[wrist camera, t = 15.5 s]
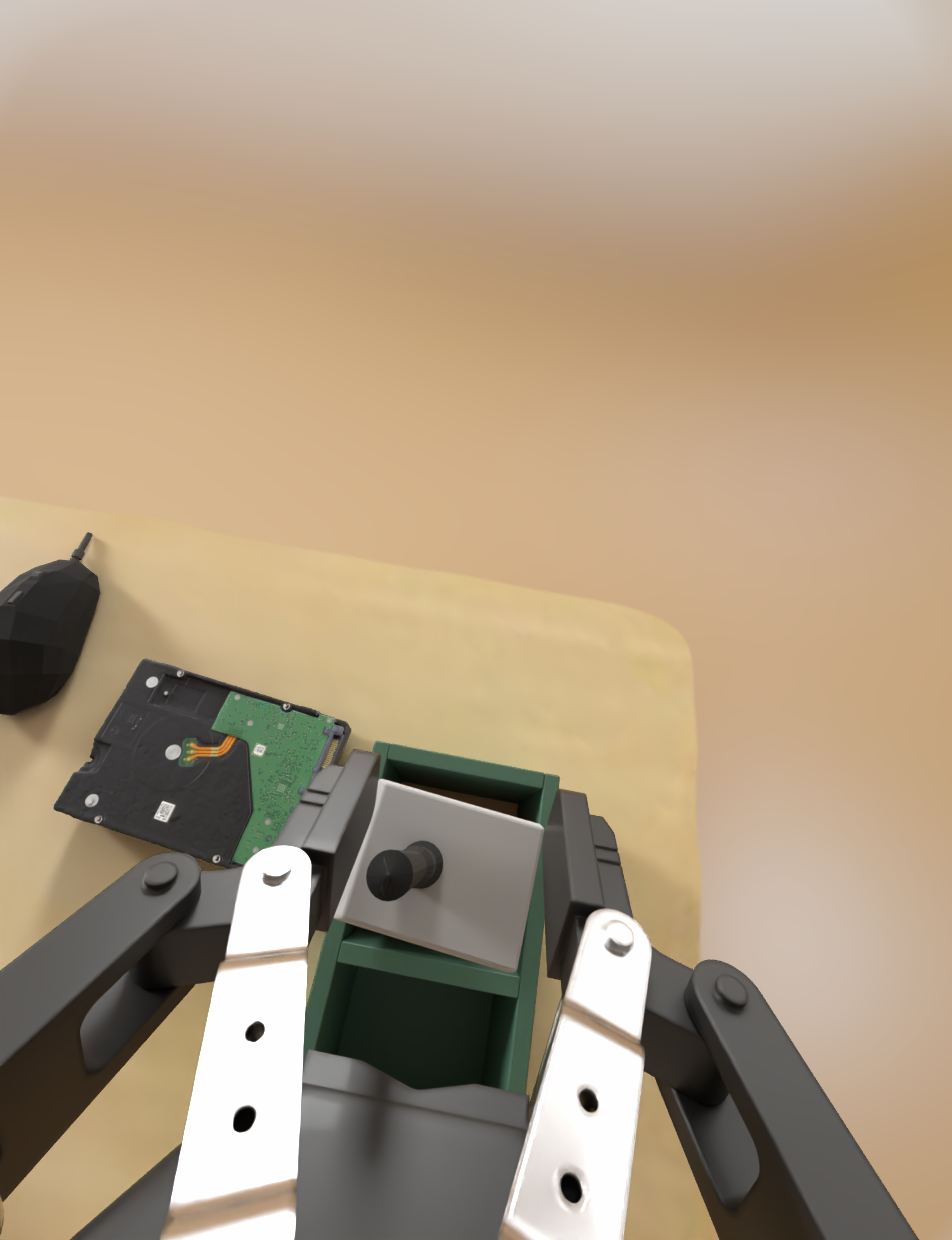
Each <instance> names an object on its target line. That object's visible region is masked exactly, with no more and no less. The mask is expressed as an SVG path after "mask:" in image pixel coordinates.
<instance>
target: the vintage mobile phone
mask: <svg viewBox="0 0 952 1240" xmlns="http://www.w3.org/2000/svg"><path fill="white" fill-rule="evenodd" d="M543 834H544V828H543V827H542V826H541V825H540V824H538V823H534V822H531V821H527V820H524V819H520V818H517V817H513V816H510V815H506V814H503V813H499V812H496V811H492V810H489V809H485V808H482V807H479V806H475V805H472V804H468V803H465V802H461V801H458V800H454V799H451V798H447V797H444V796H440V795H437V794H433V793H430V792H426V791H423V790H419V789H416V788H412V787H409V786H405V785H402V784H398V783H395V782H392V781H388V780H385V779H380V780H379V781H378V788H377V796H376V803H375V808H374V812H373V816H372V819H371V822H370V825H369V828H368V830H367V833H366V835H365V838H364V841H363V843H362V846H361V848H360V851H359V853H358V856H357V859H356V861H355V864H354V866H353V869H352V871H351V874H350V877H349V879H348V882H347V884H346V887H345V889H344V892H343V895H342V897H341V900H340V902H339V905H338V907H337V910H336V912H335V915H334V919H336V920H339V921H342V922H345V923H349V924H352V925H355V926H358V927H362V928H365V929H368V930H371V931H375V932H378V933H381V934H384V935H387V936H391V937H394V938H397V939H400V940H404V941H407V942H410V943H413V944H417V945H420V946H423V947H426V948H430V949H433V950H436V951H439V952H443V953H446V954H449V955H452V956H456V957H459V958H462V959H465V960H469V961H472V962H475V963H478V964H481V965H485V966H488V967H491V968H494V969H498V970H501V971H504V972H507V973H513V972H516V970H517V967H518V962H519V957H520V952H521V946H522V941H523V936H524V931H525V926H526V921H527V916H528V911H529V905H530V900H531V895H532V890H533V885H534V880H535V875H536V870H537V864H538V859H539V854H540V849H541V844H542V839H543Z"/></svg>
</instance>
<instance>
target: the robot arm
mask: <svg viewBox="0 0 952 1240" xmlns="http://www.w3.org/2000/svg"><path fill="white" fill-rule="evenodd" d="M380 762H381V754H378V753H373V752H368V751H363V750H357V749H353V751H352V752H351V754H350V756H349V758H348V760H347V761H346V763H345V765H344V767H343V766H338V765H333V764H329V765H328V766H326V767H325V768H324V769H322V770H321V771H319V772H318V773H317V774H315V775H314V777H313V779H312V780H311V782H310V784H309V785H308V787H307V789H306V791H305V792H304V794H303V795H302V797H301V799H300V801H299V803H297V805H296V807H295V808H294V810H293V812H292V813H291V815H290V817H289V818H288V820H287V822H286V823H285V825H284V827H283V828H282V830H281V832H280V833H279V835H278V837H277V838H276V840H275V841H274V843H273V845H272V846H271V847H269V848H266V849H263V850H261V851H260V852H258V853H256V854H255V855H253V856H252V857H251V858H250V859H249V860H248V861H247V863H246V864H245V865H244V866H241V867H237V868H232V869H223V870H211V871H200V865H199V863H198V861H197V860H196V859H195V858H194V857H192V856H191V855H188V854H186V853H181V852H167V853H162V854H158V855H155V856H152V857H150V858H147V859H145V860H143V861H142V862H140V863H139V864H137V865H136V866H134V867H133V868H132V869H130V870H129V871H128V872H127V873H125V874H124V875H123V876H121V877H120V878H119V879H118V880H116V881H115V882H114V883H112V884H111V885H110V886H109V887H107V888H106V889H105V890H103V891H102V892H101V893H100V894H98V895H97V896H96V897H94V898H93V899H92V900H91V901H89V902H88V903H87V904H85V905H84V906H83V907H82V908H80V909H79V910H78V911H76V912H75V913H74V914H73V915H71V916H70V917H69V918H67V919H66V920H65V921H64V922H62V923H61V924H60V925H58V926H57V927H56V928H55V929H53V930H52V931H51V932H49V933H48V934H47V935H45V936H44V937H43V938H42V939H40V940H39V941H38V942H36V943H35V944H34V945H33V946H31V947H30V948H29V949H27V950H26V951H25V952H24V953H22V954H21V955H20V956H18V957H17V958H16V959H15V960H13V961H12V962H11V963H9V964H8V965H7V966H6V967H4V968H3V969H2V970H0V1234H1V1231H2V1226H3V1222H4V1207H3V1202H4V1200H5V1199H6V1198H7V1197H8V1196H9V1195H10V1194H11V1193H12V1191H13V1190H14V1189H15V1188H16V1187H17V1186H18V1185H19V1183H20V1182H21V1181H22V1180H23V1179H24V1178H25V1177H26V1176H27V1174H28V1173H29V1172H30V1171H31V1170H32V1169H33V1168H34V1167H35V1165H36V1164H37V1163H38V1162H39V1161H40V1160H41V1159H42V1157H43V1156H44V1155H45V1154H46V1153H47V1152H48V1151H49V1150H50V1148H51V1147H52V1146H53V1145H54V1144H55V1143H56V1142H57V1141H58V1139H59V1138H60V1137H61V1136H62V1135H63V1134H64V1133H65V1131H66V1130H67V1129H68V1128H69V1127H70V1126H71V1125H72V1124H73V1122H74V1121H75V1120H76V1119H77V1118H78V1117H79V1116H80V1115H81V1113H82V1112H83V1111H84V1110H85V1109H86V1108H87V1107H88V1105H89V1104H90V1103H91V1102H92V1101H93V1100H94V1099H95V1098H96V1096H97V1095H98V1094H99V1093H100V1092H101V1091H102V1090H103V1088H104V1087H105V1086H106V1085H107V1084H108V1083H109V1082H110V1081H111V1079H112V1078H113V1077H114V1076H115V1075H116V1074H117V1073H118V1072H119V1070H120V1069H121V1068H122V1067H123V1066H124V1065H125V1064H126V1062H127V1061H128V1060H129V1059H130V1058H131V1057H132V1056H133V1055H134V1053H135V1052H136V1051H137V1050H138V1049H139V1048H140V1047H141V1046H142V1044H143V1043H144V1042H145V1041H146V1040H147V1039H148V1038H149V1036H150V1035H151V1034H152V1033H153V1032H154V1031H155V1030H156V1029H157V1027H158V1026H159V1025H160V1024H161V1023H162V1022H163V1021H164V1020H165V1018H166V1017H167V1016H168V1015H169V1014H170V1013H171V1012H172V1010H173V1009H174V1008H175V1007H176V1006H177V1005H178V1004H179V1003H180V1001H181V1000H182V999H183V998H184V997H185V996H186V995H187V994H188V992H189V991H190V990H191V989H192V988H193V987H194V985H195V984H199V983H206V982H213V981H215V986H214V991H213V996H212V1001H211V1006H210V1010H209V1015H208V1020H207V1025H206V1030H205V1035H204V1040H203V1045H202V1050H201V1055H200V1060H199V1065H198V1070H197V1075H196V1079H195V1084H194V1089H193V1094H192V1099H191V1104H190V1109H189V1114H188V1119H187V1124H186V1129H185V1134H184V1139H183V1142H182V1143H181V1144H180V1145H178V1146H177V1147H176V1148H175V1149H174V1150H173V1151H172V1152H170V1153H169V1154H168V1155H167V1156H166V1157H165V1158H163V1159H162V1160H161V1161H160V1162H159V1163H158V1164H157V1165H155V1166H154V1167H153V1168H152V1169H151V1170H150V1171H148V1172H147V1173H146V1174H145V1175H144V1176H143V1177H142V1178H140V1179H139V1180H138V1181H137V1182H136V1183H135V1184H133V1185H132V1186H131V1187H130V1188H129V1189H128V1190H126V1191H125V1192H124V1193H123V1194H122V1195H121V1196H120V1197H118V1198H117V1199H116V1200H115V1201H114V1202H113V1203H111V1204H110V1205H109V1206H108V1207H107V1208H106V1209H105V1210H103V1211H102V1212H101V1213H100V1214H99V1215H98V1216H96V1217H95V1218H94V1219H93V1220H92V1221H91V1222H90V1223H88V1224H87V1225H86V1226H85V1227H84V1228H83V1229H81V1230H80V1231H79V1232H78V1233H77V1234H76V1235H74V1236H73V1237H72V1238H71V1239H70V1240H623V1236H624V1228H625V1220H626V1211H627V1203H628V1195H629V1187H630V1178H631V1170H632V1162H633V1153H634V1145H635V1137H636V1129H637V1120H638V1112H639V1104H640V1095H641V1087H642V1079H643V1071H645V1072H647V1073H648V1074H650V1075H652V1076H653V1077H655V1079H656V1082H657V1085H658V1088H659V1090H660V1092H661V1095H662V1097H663V1100H664V1102H665V1105H666V1107H667V1110H668V1112H669V1115H670V1117H671V1120H672V1122H673V1125H674V1127H675V1130H676V1132H677V1135H678V1137H679V1140H680V1142H681V1145H682V1147H683V1150H684V1152H685V1155H686V1157H687V1160H688V1162H689V1165H690V1167H691V1170H692V1172H693V1175H694V1177H695V1180H696V1182H697V1185H698V1187H699V1190H700V1192H701V1195H702V1197H703V1200H704V1202H705V1205H706V1207H707V1210H708V1212H709V1215H710V1217H711V1220H712V1222H713V1225H714V1227H715V1230H716V1232H717V1235H718V1237H719V1240H919V1239H918V1237H917V1236H916V1234H915V1233H914V1231H913V1230H912V1228H911V1227H910V1225H909V1224H908V1222H907V1220H906V1219H905V1217H904V1216H903V1214H902V1213H901V1211H900V1209H899V1208H898V1206H897V1205H896V1203H895V1202H894V1200H893V1199H892V1197H891V1195H890V1194H889V1192H888V1191H887V1189H886V1188H885V1186H884V1184H883V1183H882V1181H881V1180H880V1178H879V1177H878V1175H877V1174H876V1172H875V1170H874V1169H873V1167H872V1166H871V1165H870V1163H869V1161H868V1159H867V1158H866V1156H865V1155H864V1154H863V1152H862V1150H861V1149H860V1147H859V1145H858V1144H857V1142H856V1141H855V1139H854V1138H853V1136H852V1135H851V1133H850V1131H849V1130H848V1128H847V1127H846V1125H845V1124H844V1122H843V1120H842V1119H841V1118H840V1116H839V1114H838V1113H837V1111H836V1110H835V1108H834V1107H833V1105H832V1103H831V1102H830V1100H829V1099H828V1097H827V1096H826V1094H825V1092H824V1091H823V1089H822V1088H821V1086H820V1085H819V1083H818V1081H817V1080H816V1078H815V1077H814V1076H813V1074H812V1072H811V1071H810V1069H809V1068H808V1066H807V1064H806V1063H805V1061H804V1060H803V1058H802V1057H801V1055H800V1053H799V1052H798V1050H797V1049H796V1047H795V1046H794V1044H793V1042H792V1041H791V1039H790V1038H789V1036H788V1035H787V1033H786V1032H785V1030H784V1028H783V1027H782V1025H781V1024H780V1022H779V1021H778V1019H777V1018H776V1016H775V1014H774V1013H773V1011H772V1010H771V1008H770V1007H769V1005H768V1003H767V1002H766V1000H765V999H764V997H763V996H762V994H761V993H760V991H759V990H758V988H757V987H756V986H755V985H754V983H753V982H752V981H751V980H750V979H749V978H748V977H747V976H746V975H744V974H743V973H742V972H741V971H739V970H738V969H736V968H735V967H733V966H731V965H729V964H727V963H724V962H722V961H717V960H705V961H702V962H700V963H699V964H698V965H697V966H696V967H695V969H694V970H692V969H690V968H688V967H686V966H684V965H683V964H681V963H679V962H677V961H675V960H673V959H671V958H669V957H667V956H665V955H663V954H662V953H660V952H659V951H657V950H656V949H655V948H654V947H652V946H651V943H650V940H649V938H648V936H647V934H646V932H645V931H644V930H643V928H642V927H641V926H640V925H639V924H638V923H637V922H636V921H635V920H634V919H633V915H632V911H631V906H630V902H629V897H628V893H627V888H626V884H625V880H624V875H623V871H622V867H621V862H620V857H619V853H618V852H617V851H618V848H617V844H616V839H615V835H614V832H613V831H612V829H611V828H610V826H609V825H608V824H607V822H606V821H605V819H604V818H603V817H600V816H595V815H590V814H589V808H588V802H587V797H586V794H584V793H579V792H574V791H569V790H564V789H559V788H558V789H557V791H556V794H555V797H554V801H553V805H552V808H551V812H550V816H549V819H548V823H547V827H546V831H545V835H544V841H543V849H542V865H543V888H544V911H545V934H546V957H547V977H548V978H553V979H558V980H561V988H562V996H561V999H560V1002H559V1005H558V1009H557V1012H556V1015H555V1019H554V1022H553V1026H552V1029H551V1033H550V1036H549V1039H548V1043H547V1046H546V1050H545V1053H544V1056H543V1060H542V1063H541V1067H540V1070H539V1074H538V1077H537V1080H536V1084H535V1087H534V1091H533V1094H532V1097H531V1101H530V1104H529V1095H527V1094H522V1093H517V1092H512V1091H507V1090H502V1089H497V1088H493V1087H488V1086H483V1085H478V1084H468V1085H460V1086H451V1087H442V1088H433V1089H425V1090H416V1089H412V1088H410V1087H408V1086H407V1085H405V1084H403V1083H401V1082H399V1081H398V1080H396V1079H394V1078H392V1077H391V1076H389V1075H387V1074H385V1073H384V1072H382V1071H380V1070H378V1069H376V1068H375V1067H373V1066H371V1065H369V1064H368V1063H366V1062H364V1061H362V1060H357V1059H352V1058H347V1057H342V1056H338V1055H333V1054H328V1053H323V1052H318V1051H313V1050H309V1051H308V1054H307V1056H306V1059H305V1062H304V1065H303V1068H302V1060H303V1039H304V1017H305V996H306V975H307V952H308V950H307V948H308V946H309V944H310V941H311V939H312V936H313V934H314V932H315V930H319V931H324V932H328V930H329V928H330V925H331V923H332V920H333V918H334V915H335V912H336V910H337V907H338V905H339V902H340V900H341V897H342V895H343V892H344V889H345V887H346V884H347V882H348V879H349V877H350V874H351V871H352V869H353V866H354V864H355V861H356V859H357V856H358V853H359V851H360V848H361V846H362V843H363V841H364V838H365V835H366V833H367V830H368V828H369V825H370V822H371V819H372V816H373V812H374V808H375V803H376V796H377V788H378V779H379V770H380Z"/></svg>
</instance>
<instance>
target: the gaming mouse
mask: <svg viewBox="0 0 952 1240" xmlns="http://www.w3.org/2000/svg"><path fill="white" fill-rule="evenodd" d="M91 537H92V534H91V533H89V532H88V533H86V535H85V537H84V539H83V541H82V542H81V544H80V546H79V548H78V549H76V550H75V551H74V552H73V554H72V558H70V560H69V561H68V560H57V561H54V562H51V563H48V564H45V565H42V566H39V567H36V568H33V569H31V570H29V571H27V572H25V573H23V574H21V575H19V576H18V577H17V578H16V579H15V580H14V581H12V582H11V583H10V584H9V585H8V586H7V587H5V588H4V589H3V590H2V591H1V592H0V714H6V715H16V714H18V713H21V712H23V711H25V710H28V709H30V708H33V707H35V706H37V705H40V704H42V703H45V702H47V701H48V700H49V699H51V698H52V697H54V696H55V695H56V694H57V693H58V692H59V690H60V689H61V688H62V686H63V685H64V684H65V682H66V681H67V680H68V678H69V677H70V675H71V674H72V672H73V670H74V667H75V665H76V662H77V660H78V658H79V655H80V652H81V649H82V646H83V643H84V639H85V636H86V634H87V631H88V628H89V625H90V623H91V620H92V617H93V615H94V612H95V608H96V605H97V602H98V598H99V595H100V589H99V583H98V577H97V576H96V575H95V574H94V573H92V572H91V571H90V570H89V569H87V568H86V567H85V566H84V565H83V564H81V563H80V562H79V560H81V559H82V557H83V556H84V552H83V551H84V550H85V548H86V546H87V544H88V542H89V541H90V539H91Z"/></svg>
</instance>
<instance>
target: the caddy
mask: <svg viewBox="0 0 952 1240" xmlns="http://www.w3.org/2000/svg"><path fill="white" fill-rule="evenodd" d="M373 753H378V754H381V762H380V770H379V779H378V781H379V780H380V779H385V780H388V781H392V782H395V783H398V784H402V785H405V786H409V787H412V788H416V789H419V790H423V791H426V792H430V793H433V794H437V795H440V796H444V797H447V798H451V799H454V800H458V801H461V802H465V803H468V804H472V805H475V806H479V807H482V808H485V809H489V810H492V811H496V812H499V813H503V814H506V815H510V816H513V817H517V818H520V819H524V820H527V821H531V822H534V823H538V824H540V825H541V826H542V827H543V828H544V834H543V839H542V844H541V849H540V854H539V859H538V864H537V870H536V875H535V880H534V885H533V890H532V895H531V900H530V905H529V911H528V916H527V921H526V926H525V931H524V936H523V941H522V946H521V952H520V957H519V962H518V967H517V970H516V972H513V973H507V972H504V971H501V970H498V969H494V968H491V967H488V966H485V965H481V964H478V963H475V962H472V961H469V960H465V959H462V958H459V957H456V956H452V955H449V954H446V953H443V952H439V951H436V950H433V949H430V948H426V947H423V946H420V945H417V944H413V943H410V942H407V941H404V940H400V939H397V938H394V937H391V936H387V935H384V934H381V933H378V932H375V931H371V930H368V929H365V928H362V927H358V926H355V925H352V924H349V923H345V922H342V921H339V920H336V919H334V918H333V920H332V923H331V925H330V928H329V930H328V932H326V934H325V937H324V941H323V945H322V949H321V953H320V957H319V961H318V964H317V968H316V972H315V976H314V980H313V984H312V988H311V992H310V995H309V999H308V1003H307V1007H306V1011H305V1017H304V1039H303V1060H302V1068H303V1065H304V1062H305V1059H306V1056H307V1054H308V1051H309V1050H313V1051H318V1052H323V1053H328V1054H333V1055H338V1056H342V1057H347V1058H352V1059H357V1060H362V1061H364V1062H366V1063H368V1064H369V1065H371V1066H373V1067H375V1068H376V1069H378V1070H380V1071H382V1072H384V1073H385V1074H387V1075H389V1076H391V1077H392V1078H394V1079H396V1080H398V1081H399V1082H401V1083H403V1084H405V1085H407V1086H408V1087H410V1088H412V1089H416V1090H425V1089H433V1088H442V1087H451V1086H460V1085H468V1084H478V1085H483V1086H488V1087H493V1088H497V1089H502V1090H507V1091H512V1092H517V1093H522V1094H526V1086H527V1077H528V1067H529V1058H530V1049H531V1040H532V1030H533V1021H534V1012H535V1003H536V993H537V984H538V975H539V966H540V956H541V947H542V938H543V929H544V919H545V911H544V888H543V865H542V849H543V841H544V835H545V831H546V827H547V823H548V819H549V816H550V812H551V808H552V805H553V801H554V797H555V794H556V791H557V789H558V788H559V781H560V777H559V776H557V775H552V774H547V773H546V774H544V773H542V772H537V771H532V770H527V769H521V768H516V767H511V766H506V765H501V764H495V763H490V762H485V761H480V760H475V759H469V758H464V757H459V756H454V755H449V754H444V753H438V752H433V751H428V750H423V749H418V748H412V747H407V746H402V745H397V744H390V743H386V742H381V741H375V744H374V748H373Z"/></svg>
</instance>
